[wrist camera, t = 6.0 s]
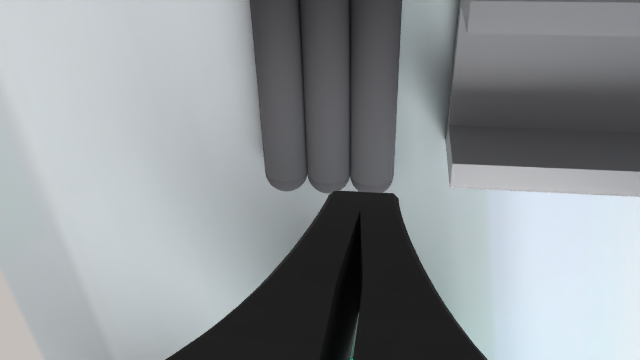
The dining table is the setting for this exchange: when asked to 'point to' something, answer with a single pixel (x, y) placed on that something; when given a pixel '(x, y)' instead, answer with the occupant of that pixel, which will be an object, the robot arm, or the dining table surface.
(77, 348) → the dining table surface
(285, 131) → the grey ridged block
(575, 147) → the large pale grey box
